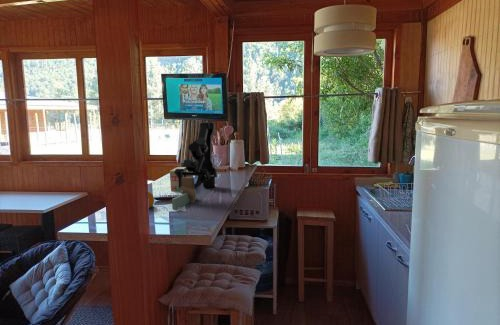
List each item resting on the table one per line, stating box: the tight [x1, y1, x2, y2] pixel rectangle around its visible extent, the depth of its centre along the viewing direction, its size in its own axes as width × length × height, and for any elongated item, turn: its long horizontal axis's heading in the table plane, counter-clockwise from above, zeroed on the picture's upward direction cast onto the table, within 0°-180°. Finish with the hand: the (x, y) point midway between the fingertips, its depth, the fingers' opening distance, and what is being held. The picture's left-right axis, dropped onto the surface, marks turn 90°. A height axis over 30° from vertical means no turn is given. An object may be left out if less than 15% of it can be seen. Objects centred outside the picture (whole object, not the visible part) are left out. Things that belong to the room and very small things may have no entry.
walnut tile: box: [181, 177, 196, 204], centre depth 187 cm, size 2×6×12 cm, turn 69°
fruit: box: [147, 190, 155, 209], centre depth 179 cm, size 12×12×10 cm
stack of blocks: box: [169, 166, 194, 192], centre depth 224 cm, size 21×6×12 cm, turn 169°
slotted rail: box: [171, 189, 197, 210], centre depth 184 cm, size 20×2×5 cm, turn 159°
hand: (187, 187), depth 186 cm, fingers open, 9 cm apart
